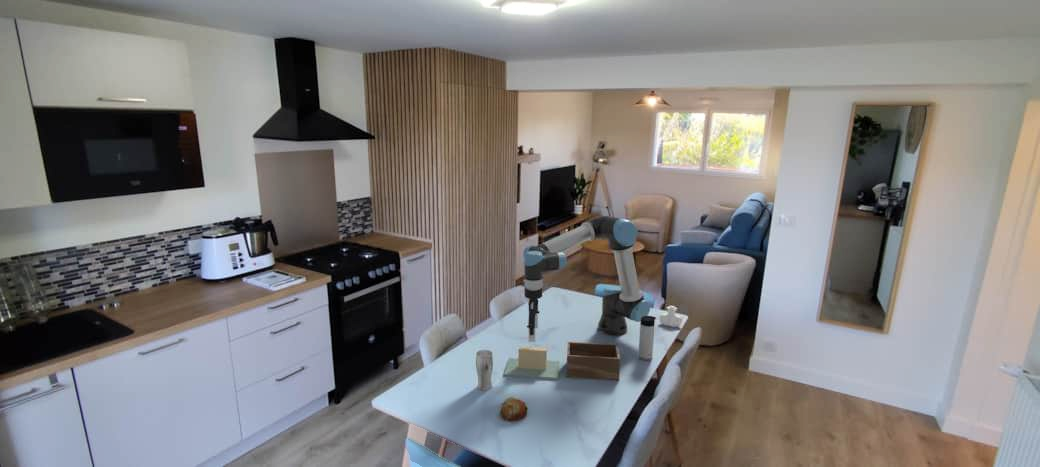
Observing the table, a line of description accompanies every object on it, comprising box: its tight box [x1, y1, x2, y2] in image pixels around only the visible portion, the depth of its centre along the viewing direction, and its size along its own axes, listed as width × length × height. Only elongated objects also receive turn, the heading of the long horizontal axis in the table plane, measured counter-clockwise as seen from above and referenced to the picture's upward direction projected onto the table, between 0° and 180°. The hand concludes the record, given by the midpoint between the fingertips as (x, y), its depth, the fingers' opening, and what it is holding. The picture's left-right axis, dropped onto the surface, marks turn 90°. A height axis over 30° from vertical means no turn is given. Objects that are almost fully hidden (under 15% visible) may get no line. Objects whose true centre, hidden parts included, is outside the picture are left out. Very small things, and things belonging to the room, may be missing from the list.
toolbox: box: [566, 341, 621, 382], centre depth 210 cm, size 14×22×10 cm, turn 83°
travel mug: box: [638, 315, 657, 361], centre depth 222 cm, size 6×7×20 cm
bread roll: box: [499, 396, 529, 423], centre depth 179 cm, size 10×10×8 cm
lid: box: [503, 345, 561, 381], centre depth 211 cm, size 15×23×10 cm, turn 82°
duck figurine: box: [658, 305, 683, 328], centre depth 261 cm, size 12×8×11 cm
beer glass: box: [475, 349, 494, 392], centre depth 196 cm, size 7×7×15 cm
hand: (533, 334), depth 209 cm, fingers open, 13 cm apart
